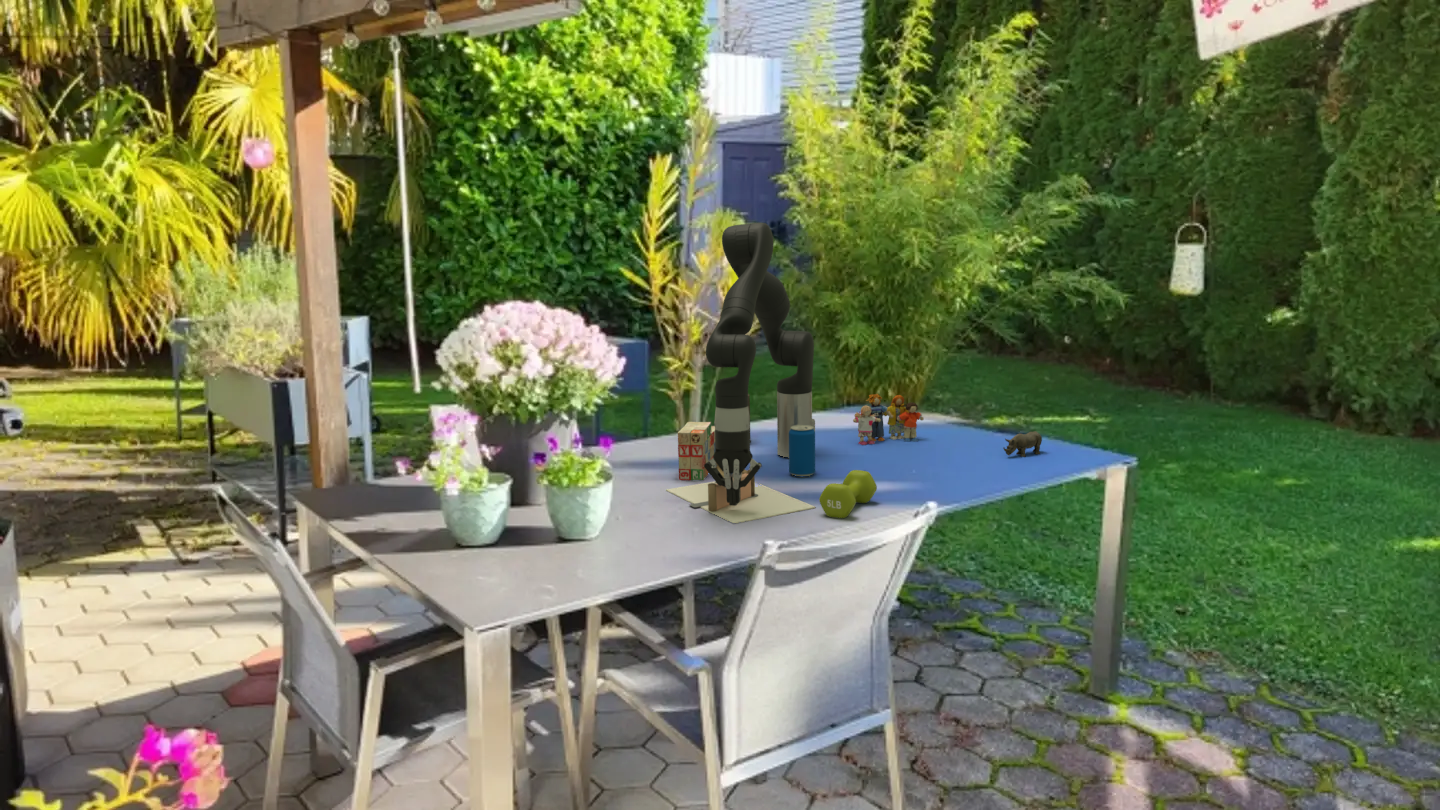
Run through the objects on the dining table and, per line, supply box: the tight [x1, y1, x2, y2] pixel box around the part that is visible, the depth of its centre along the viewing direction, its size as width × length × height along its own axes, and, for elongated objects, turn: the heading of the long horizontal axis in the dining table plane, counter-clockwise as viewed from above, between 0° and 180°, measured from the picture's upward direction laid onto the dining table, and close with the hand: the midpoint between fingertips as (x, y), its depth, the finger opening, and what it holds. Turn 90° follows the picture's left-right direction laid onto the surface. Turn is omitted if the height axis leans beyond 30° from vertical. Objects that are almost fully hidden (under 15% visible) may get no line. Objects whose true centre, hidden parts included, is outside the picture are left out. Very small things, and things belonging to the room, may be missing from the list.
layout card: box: [665, 480, 816, 524], centre depth 234 cm, size 23×31×1 cm
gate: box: [708, 473, 751, 511], centre depth 229 cm, size 2×14×6 cm, turn 143°
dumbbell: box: [818, 469, 878, 519], centre depth 225 cm, size 16×8×7 cm, turn 150°
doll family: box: [852, 393, 924, 446], centre depth 290 cm, size 21×10×13 cm, turn 104°
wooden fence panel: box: [716, 463, 756, 496], centre depth 241 cm, size 2×16×6 cm, turn 30°
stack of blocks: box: [677, 421, 715, 481], centre depth 260 cm, size 21×6×12 cm, turn 170°
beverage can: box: [788, 425, 816, 477], centre depth 253 cm, size 6×6×12 cm
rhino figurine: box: [1002, 431, 1043, 458], centre depth 270 cm, size 4×14×6 cm, turn 120°
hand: (733, 504), depth 224 cm, fingers closed
